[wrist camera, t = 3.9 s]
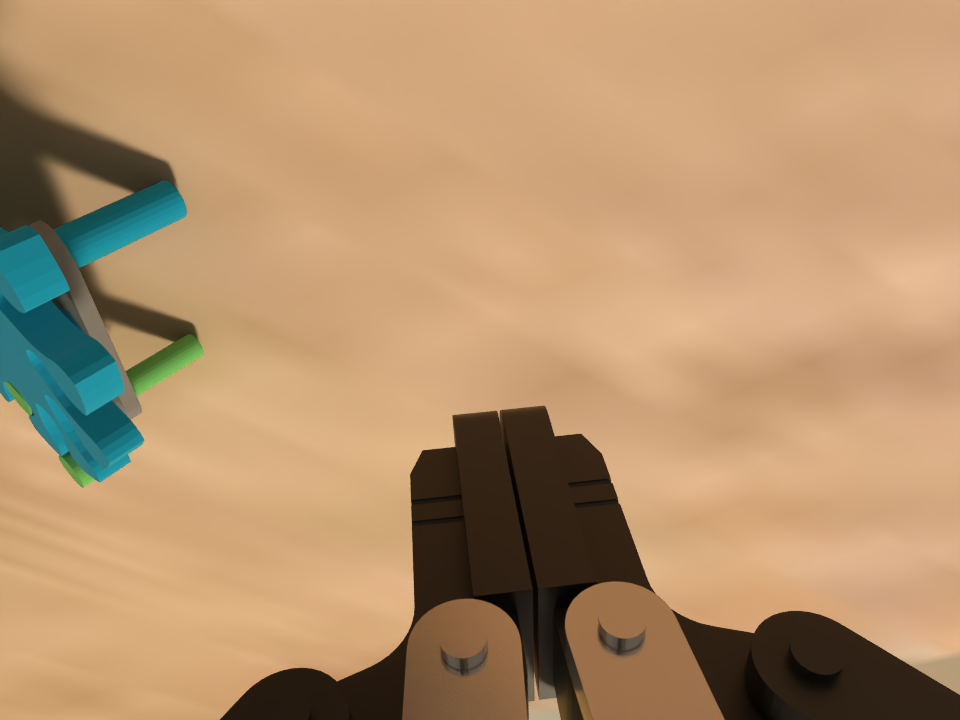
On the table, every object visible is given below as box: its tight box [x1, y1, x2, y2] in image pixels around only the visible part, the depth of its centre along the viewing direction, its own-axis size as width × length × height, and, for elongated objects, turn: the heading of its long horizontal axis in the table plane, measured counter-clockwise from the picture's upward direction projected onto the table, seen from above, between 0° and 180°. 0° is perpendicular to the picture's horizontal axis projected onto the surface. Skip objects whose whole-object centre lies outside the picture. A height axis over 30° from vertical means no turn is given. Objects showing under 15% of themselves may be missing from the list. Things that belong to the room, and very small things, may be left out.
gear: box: [0, 180, 204, 487], centre depth 18 cm, size 11×6×10 cm
